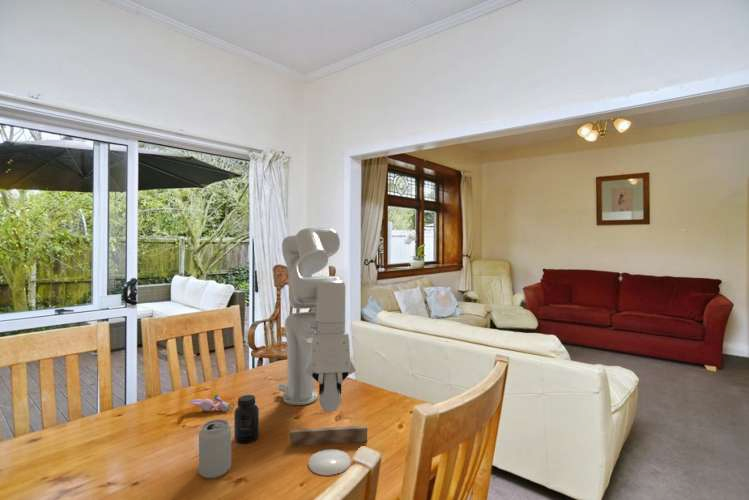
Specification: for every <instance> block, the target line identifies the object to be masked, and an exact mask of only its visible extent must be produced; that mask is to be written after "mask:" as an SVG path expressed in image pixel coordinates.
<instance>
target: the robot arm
mask: <svg viewBox="0 0 749 500" xmlns="http://www.w3.org/2000/svg"><path fill="white" fill-rule="evenodd" d="M340 243H341V240H340V236H339V233H338V232H337V231H336V230H335V229H333V228H319V227H318V228H316V227H315V228H314V227H308V228H303V229H301V230H299V231H298V232H297V233H296V234H294V235H288V236H285V237H284V239H283V240H282V242H281V249H282V250H281V251H282V256H283V260H284V262H285V263H284V264H285V265H286V267H287V274H288V275H287V276H288V302H289V305H290V307H292V308H293V309H295V310H296V309H298V310H300V309H301V310H305V309H316V311H305V312H304V311H303V312H301V311H300V312H295V313H291V314H289V315H288V316H287V317H286V319H285V321H284V328H285V329H284V330H285V335H286V343H287V344H286V345H287V346H286V347H287V357H286V358H287V367H286V368H287V376H286V377H287V380H286V381H287V382H286V383H287V384H285V383H279V384H278V392H283V393H284V394H283V395H282V401H283V402H284V403H285V404H288V405H291V406H292V405H293V406H305V405H309V404H311V403H314V402H315V401H317V399H318V398H319V397H318V395H319V396H320V395H321V392H322V394H323V391H324V384H323V382H324V381H323V375H324V373H337V376H338V380H337V382H338V383H337V390H338V394H339V392H340V394H341V395H342V383H343V381H344V380H345V379H346V378H348V376H350V375H352V374H353V373H355V372H356V368H355V365H354V363H353V362H352V360H351V348H350V347H351V345H350V337H349V332H348V331H347V330H346V284H345V282H344V280H342V279H341V278H340V277H338V276H334V275H331V276H329V275H328V276H322V275H321V276H313V275H314V274H317V273H319V272H320V271H323V269H325V268H326V266H327V265H328V263H329V259H330V258H331V257H333V256H334V255H335V254H337V253H338V251H339V249H340ZM308 339H309V340H310V339H311V343H310V342H309V341H308ZM315 381H316V382H317V383H318V385H319V386H318V391H316V390H315V389H314V386H315V385H314V382H315Z"/></svg>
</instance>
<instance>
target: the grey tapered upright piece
mask: <svg viewBox="0 0 749 500" xmlns="http://www.w3.org/2000/svg"><path fill="white" fill-rule="evenodd" d="M337 380H338V376H337V373H324V375H323V381H324V382H323V384H324V391H323V394H322V392H321V395H319V397H318V398H319V401H318V403H319V404H320V406H321V408H322V410H323V412H329V413H330V412H331V413H332V412H335V411H337V410H338V408H339V406H340V404H341V403H342V393H341V394H340V392H339V394H338V390H337V383H338V382H337Z"/></svg>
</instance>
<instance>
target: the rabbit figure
mask: <svg viewBox="0 0 749 500" xmlns="http://www.w3.org/2000/svg"><path fill="white" fill-rule="evenodd" d="M219 396H220V395H219V394H214V396H213V399H214V401H215V402H217V403H215V404H214V401H213V399H210V398H205V399H202V398H196V399H193V400H190V401H189V402H188V403H187V406H189V405H190V406H191V405H194V406H196V407H199V408H200V409H201V410H202V411H206V412H211V411H213V409H214V410H215V411H218V410H220V411H221V412H224V413H227V412H229V409H231V411H230V412H233V409H234V408H235V403H234V404H233V402H230V403H228V402H227V401H223V400H222V398H221V397H219Z"/></svg>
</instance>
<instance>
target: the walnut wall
mask: <svg viewBox="0 0 749 500" xmlns="http://www.w3.org/2000/svg"><path fill="white" fill-rule="evenodd" d="M364 441H365V442H368V425H353V426H352V425H351V426H333V427H332V426H331V427H319V428H317V427H315V428H301V429H300V428H298V429H297V428H296V429H290V430H289V447H300V446H316V445H317V446H318V445H320V446H321V445H331V444H348V443H349V444H351V443H365V442H364Z"/></svg>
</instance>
